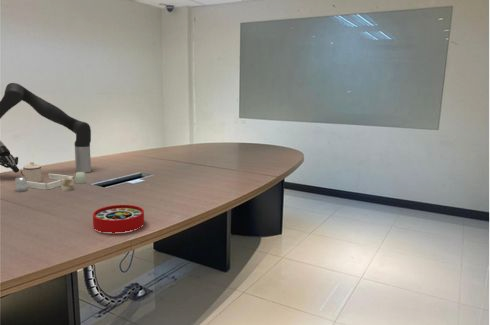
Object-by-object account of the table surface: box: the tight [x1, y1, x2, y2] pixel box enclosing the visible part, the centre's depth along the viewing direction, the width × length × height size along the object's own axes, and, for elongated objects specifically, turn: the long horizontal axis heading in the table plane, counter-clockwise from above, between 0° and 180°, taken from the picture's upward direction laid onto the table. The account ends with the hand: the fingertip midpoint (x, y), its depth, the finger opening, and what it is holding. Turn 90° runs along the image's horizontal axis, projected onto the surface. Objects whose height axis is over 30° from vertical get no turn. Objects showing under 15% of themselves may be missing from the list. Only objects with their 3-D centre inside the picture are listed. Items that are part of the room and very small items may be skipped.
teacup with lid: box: [19, 161, 43, 183], centre depth 209 cm, size 12×9×12 cm
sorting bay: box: [27, 173, 76, 191], centre depth 207 cm, size 18×21×3 cm
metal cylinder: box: [14, 176, 28, 193], centre depth 191 cm, size 5×5×7 cm
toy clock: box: [92, 204, 145, 233], centre depth 149 cm, size 20×6×20 cm
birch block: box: [60, 178, 74, 192], centre depth 197 cm, size 5×5×6 cm
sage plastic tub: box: [75, 171, 86, 185], centre depth 212 cm, size 5×5×6 cm
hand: (17, 171), depth 212 cm, fingers closed
